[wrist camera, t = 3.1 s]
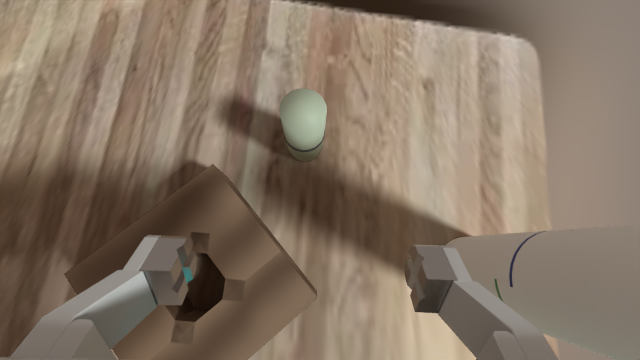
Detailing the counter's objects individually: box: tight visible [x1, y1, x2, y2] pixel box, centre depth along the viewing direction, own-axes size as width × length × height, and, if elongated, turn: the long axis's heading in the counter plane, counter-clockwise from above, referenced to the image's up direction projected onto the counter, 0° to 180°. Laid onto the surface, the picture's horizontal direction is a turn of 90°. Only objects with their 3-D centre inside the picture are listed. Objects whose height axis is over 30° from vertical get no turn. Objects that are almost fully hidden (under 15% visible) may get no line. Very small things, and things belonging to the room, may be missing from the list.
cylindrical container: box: [446, 224, 640, 360], centre depth 21 cm, size 7×7×25 cm
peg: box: [279, 88, 327, 162], centre depth 31 cm, size 4×4×10 cm
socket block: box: [64, 164, 317, 360], centre depth 30 cm, size 16×16×5 cm
